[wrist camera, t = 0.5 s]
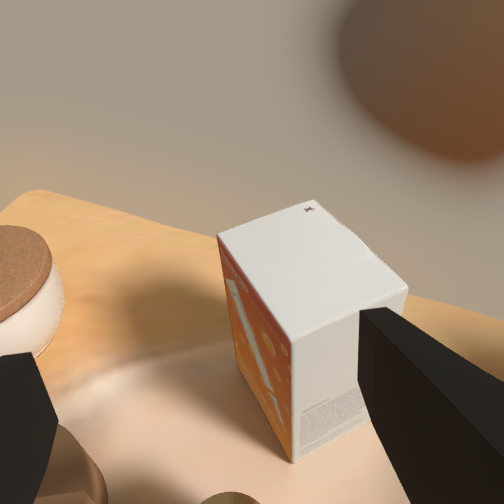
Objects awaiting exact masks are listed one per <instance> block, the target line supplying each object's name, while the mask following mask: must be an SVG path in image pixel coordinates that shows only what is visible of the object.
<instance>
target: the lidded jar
mask: <svg viewBox="0 0 504 504" xmlns="http://www.w3.org/2000/svg"><path fill="white" fill-rule="evenodd" d="M64 300H65V295H64V290H63V284H62V280H61V277H60V274H59V271H58V269H57V267H56V265H55V263H54V261H53V259H52V256H51V252H50V250H49V248H48V246H47V244H46V242H45V240H44V239H43V238H42V237H41V236H40V235H39V234H38V233H36V232H34V231H32V230H30V229H27V228H24V227H19V226H9V225H5V226H0V357H1V356H2V355H9V354H17V353H25V352H32V355H33V357H34V359H35V358H36V357H37V356H39V355H40V354H41V353H42V352H43V351H44V350H45V349H46V348H47V346H48V345H49V343H50V342H51V340H52V338H53V336H54V334H55V332H56V331H57V329H58V327H59V325H60V323H61V319H62V316H63V312H64Z"/></svg>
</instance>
